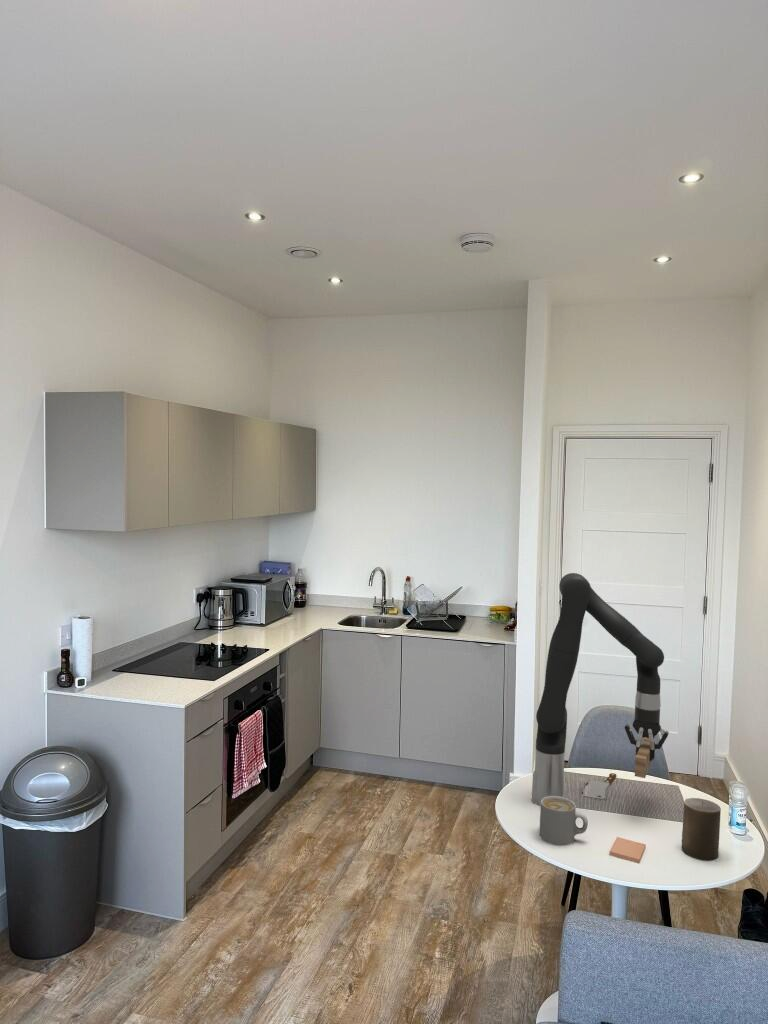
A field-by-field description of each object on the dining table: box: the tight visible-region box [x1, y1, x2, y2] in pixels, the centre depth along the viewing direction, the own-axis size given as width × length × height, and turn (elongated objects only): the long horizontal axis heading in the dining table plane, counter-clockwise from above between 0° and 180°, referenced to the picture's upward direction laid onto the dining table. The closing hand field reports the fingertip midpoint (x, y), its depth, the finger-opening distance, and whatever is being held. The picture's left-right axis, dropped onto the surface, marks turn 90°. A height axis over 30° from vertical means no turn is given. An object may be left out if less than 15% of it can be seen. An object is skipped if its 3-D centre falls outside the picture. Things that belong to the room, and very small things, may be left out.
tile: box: [609, 836, 647, 864], centre depth 203 cm, size 8×2×10 cm
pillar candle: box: [681, 797, 722, 861], centre depth 204 cm, size 10×10×15 cm
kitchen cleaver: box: [588, 772, 617, 801], centre depth 248 cm, size 24×1×10 cm
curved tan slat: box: [634, 737, 653, 779], centre depth 229 cm, size 22×3×6 cm, turn 153°
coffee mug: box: [538, 796, 588, 846], centre depth 209 cm, size 13×10×10 cm
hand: (645, 758), depth 229 cm, fingers closed on curved tan slat, 3 cm apart
